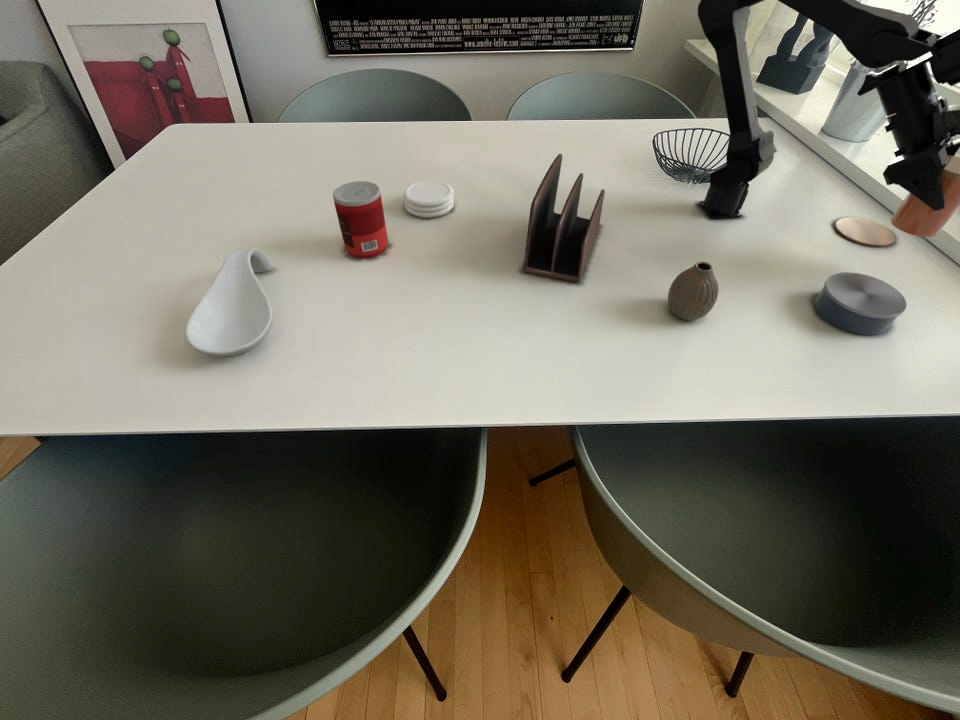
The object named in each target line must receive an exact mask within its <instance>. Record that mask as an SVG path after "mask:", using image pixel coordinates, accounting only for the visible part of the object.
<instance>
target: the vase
mask: <svg viewBox="0 0 960 720" xmlns="http://www.w3.org/2000/svg"><path fill="white" fill-rule="evenodd" d="M719 289H720V288H719V283H718V280H717V278H716V275H715V273H714V267H713V265H712V264H710V263H709V262H708V261H707V262H706V261H698V262H696V263H695V264H694V265H692V266H691V267H689V268H687V269H685V270H683V271H681V272H680V273H679V274H678V275H677V276H676V277H675V278H674V279H673V281H672V282H671V284H670V286H669V289H668V293H667V304H668V308H669V309H670V311H671V313H672V314H673V315H674V316H676V317H677V318H678V319H681V320H683V321H684V320H685V321H694V320H695V321H696V320H699V319H701V318H704V317H705V316H706V315H708V314H709V313H710V312H711V310H712V309H713V308H714V306H715V305H716V303H717V300H718V297H719V292H720V291H719Z"/></svg>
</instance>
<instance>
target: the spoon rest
mask: <svg viewBox="0 0 960 720" xmlns="http://www.w3.org/2000/svg"><path fill="white" fill-rule="evenodd" d="M272 269H273V266H272V263H271V262H270V260H269V259H268V257H267V256H266V255H265V254H264V253H263V252H262V251H261V250H259V249H257V248H250V249H245V250H244V249H233V250H232V251H230V252H229V253H228V254H227V255H226V257H225V259H224V260H223V262H222V264H221V266H220V269H219V270H218V272H217V274H216V275H215V277H214V278H213V280H212V282H211V283H210V285H209V287H208V288H206V291H205V293H204V294H203V295H202V296H201V298H200V300H199V301H198V302H197V304H196V305H195V307H194V308H193V310H192V312H191V313H190V315H189V317H188V319H187V321H186V324H185V329H184V336H185V339H186V342H187V344H188V345H189V346H190V347H191V348H193V350H195V351H197V352H198V353H201V354H204V355H207V356H213V357H234V356H238V355H241V354H245V353H247V352H250V351H252V350H253V349H255V348H256V347H257V346H259V345H260V344H262V343H263V341H264V340H265V339H266V338H267V336H268V334H269V332H270V331H271V328H272V324H273V319H274V318H273V309H272V305H271V303H270V299H269V298H268V296H267V294H266V292H265V291H264V288H263V287H262V285H261V284H260V283H261V282H260V281H259V279H258V278H257V276H256V274H257V273H265V272H270V271H272Z"/></svg>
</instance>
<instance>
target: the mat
mask: <svg viewBox="0 0 960 720" xmlns="http://www.w3.org/2000/svg"><path fill="white" fill-rule="evenodd" d="M834 228H835V231H836V232H837V233H838V234H839V235H840V236H842V237H844V238H845V239H847V240H849V241H850V242H853V243H856V244H859V245H863V246H866V247H873V248H874V247H875V248H881V247H882V248H884V247H889V246H891V245H892V244H893V243H894V242H895V241H896V234H895V233H894V232H893V231H892V230H891V229H890V228H888V227H887V226H885V225H883V224H881V223H878V222H877V221H873V220H872V219H871V220H870V219H867V218H861V217H849V216H848V217H842V218H840V219H838V220H837V221H836V223H835V224H834Z"/></svg>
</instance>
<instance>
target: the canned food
mask: <svg viewBox="0 0 960 720" xmlns="http://www.w3.org/2000/svg"><path fill="white" fill-rule="evenodd" d="M381 193H382V192H381V190H380V187H379V186H378V184H376V183H374V182H371V181H365V180H358V181H357V180H356V181H350V182H347V183H344V184H341V185H340V186H338V187H336V188H335V189H334V190H333V192H332V198H333V203H334V209H335V212H336V216H337V220H338V225H339V228H340V232H341V237H342V241H343V245H344V248H345V251H346V252H347V254H348V255H349V256H350V257H352V258H356V259H360V260H361V259H365V260H366V259H372V258H375V257H377V256H380V255H382V254H383V253H384V252H385V251H386V250H387V247H388V243H389V238H388V232H387V226H386V220H385V212H384V205H383V199H382V194H381Z"/></svg>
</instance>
